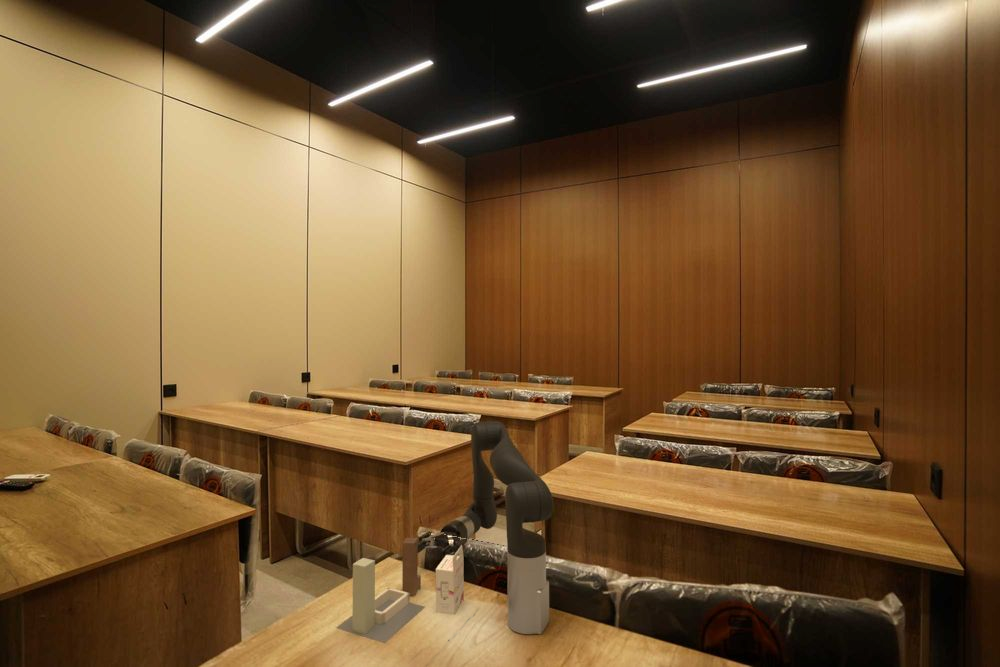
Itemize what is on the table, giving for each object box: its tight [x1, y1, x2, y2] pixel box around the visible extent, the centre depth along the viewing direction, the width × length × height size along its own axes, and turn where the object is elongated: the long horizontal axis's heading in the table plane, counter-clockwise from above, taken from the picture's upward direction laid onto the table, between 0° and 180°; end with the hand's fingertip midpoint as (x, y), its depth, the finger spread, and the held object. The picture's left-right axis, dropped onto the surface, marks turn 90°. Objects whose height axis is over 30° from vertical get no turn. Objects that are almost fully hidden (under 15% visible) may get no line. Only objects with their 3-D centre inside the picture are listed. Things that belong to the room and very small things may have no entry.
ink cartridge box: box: [435, 545, 465, 615], centre depth 120 cm, size 9×5×15 cm, turn 168°
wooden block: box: [401, 537, 422, 598], centre depth 127 cm, size 7×3×15 cm, turn 175°
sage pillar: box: [352, 557, 376, 634], centre depth 110 cm, size 4×4×15 cm
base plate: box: [335, 587, 426, 644], centre depth 114 cm, size 14×16×4 cm
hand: (429, 551), depth 135 cm, fingers open, 8 cm apart
